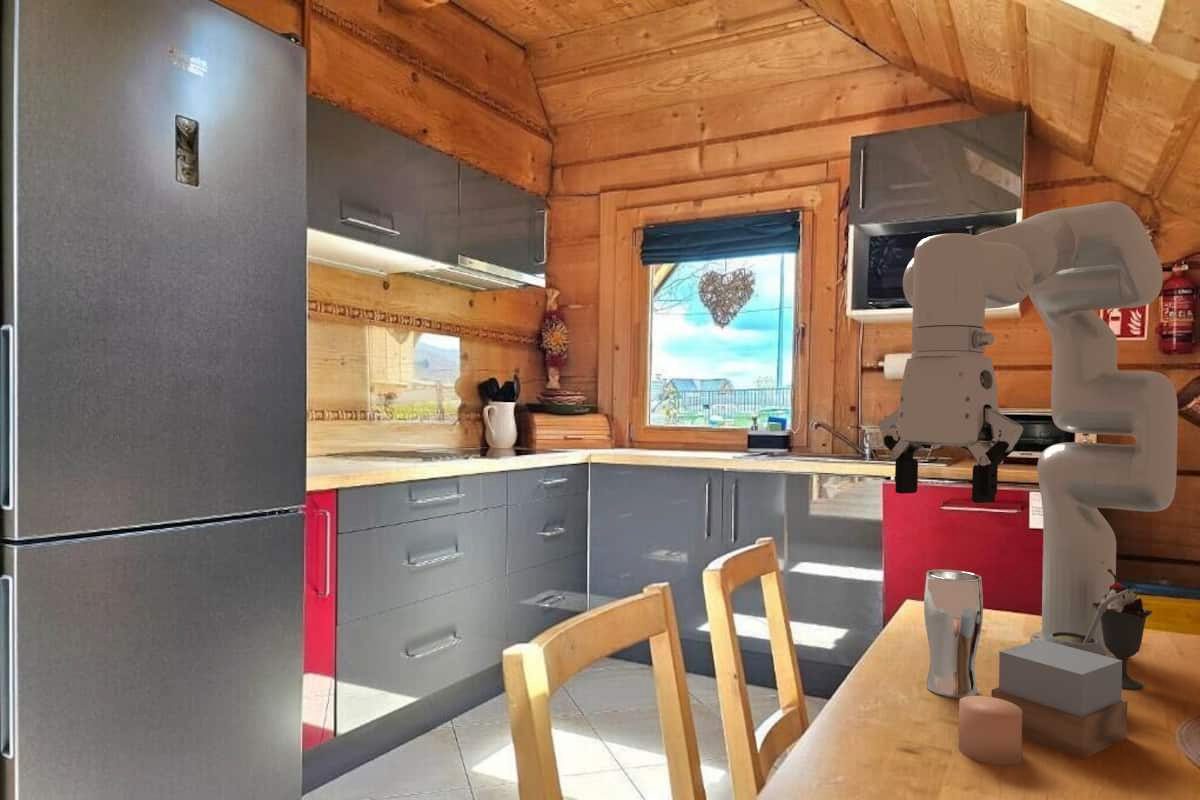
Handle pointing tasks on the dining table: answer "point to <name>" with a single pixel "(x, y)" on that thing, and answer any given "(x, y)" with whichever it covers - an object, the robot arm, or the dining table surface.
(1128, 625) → the sundae
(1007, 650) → the slate top block
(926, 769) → the dining table surface
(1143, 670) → the dining table surface
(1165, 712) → the dining table surface
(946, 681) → the beer glass
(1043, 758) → the dining table surface
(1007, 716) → the peach rounded cylinder
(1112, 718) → the walnut base block
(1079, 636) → the mate gourd
